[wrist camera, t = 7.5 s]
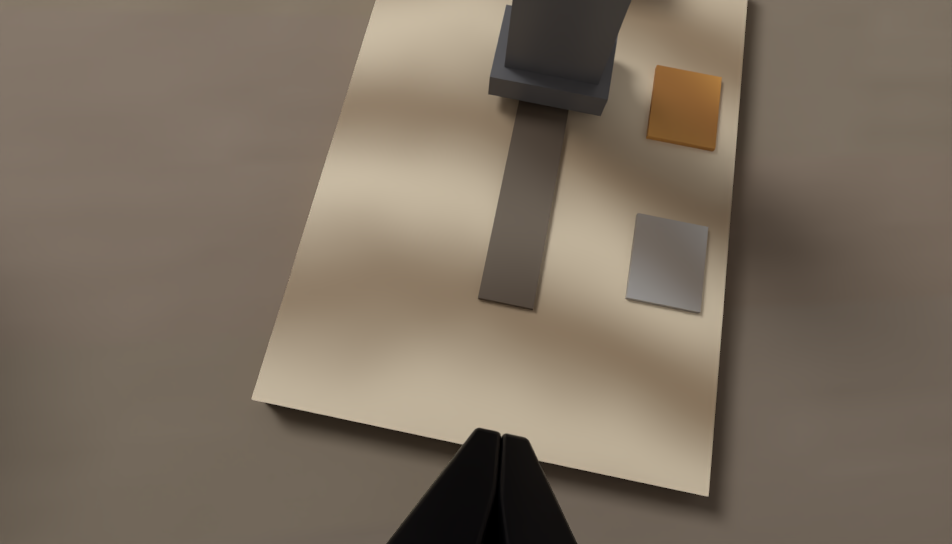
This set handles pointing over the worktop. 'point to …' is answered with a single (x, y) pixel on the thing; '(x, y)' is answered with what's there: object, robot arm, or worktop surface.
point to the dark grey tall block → (558, 52)
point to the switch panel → (523, 245)
